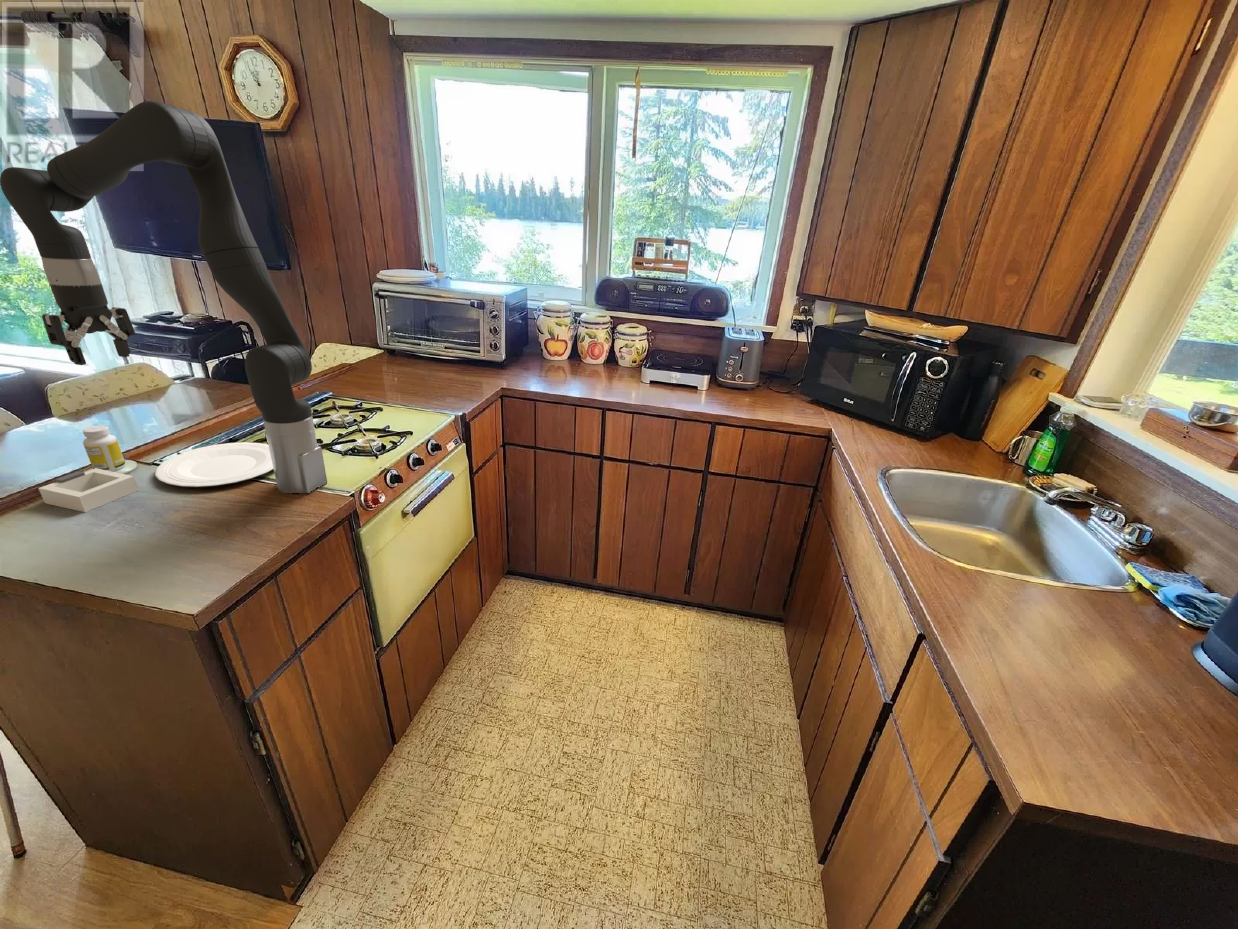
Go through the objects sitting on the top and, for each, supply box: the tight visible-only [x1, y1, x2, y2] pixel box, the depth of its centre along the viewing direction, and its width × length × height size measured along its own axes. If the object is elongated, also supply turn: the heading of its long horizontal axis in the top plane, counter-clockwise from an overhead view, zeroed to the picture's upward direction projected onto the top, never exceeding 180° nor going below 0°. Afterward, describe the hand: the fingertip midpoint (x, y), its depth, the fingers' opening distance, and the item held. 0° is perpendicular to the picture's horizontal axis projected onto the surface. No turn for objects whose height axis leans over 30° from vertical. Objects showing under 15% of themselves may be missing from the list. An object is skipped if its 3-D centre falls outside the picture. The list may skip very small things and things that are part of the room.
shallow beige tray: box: [38, 468, 139, 513], centre depth 104 cm, size 10×10×4 cm
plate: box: [154, 441, 274, 488], centre depth 121 cm, size 25×25×2 cm
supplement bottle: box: [82, 425, 126, 471], centre depth 112 cm, size 5×5×10 cm
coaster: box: [82, 459, 138, 475], centre depth 115 cm, size 9×9×1 cm
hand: (103, 360), depth 108 cm, fingers open, 8 cm apart
